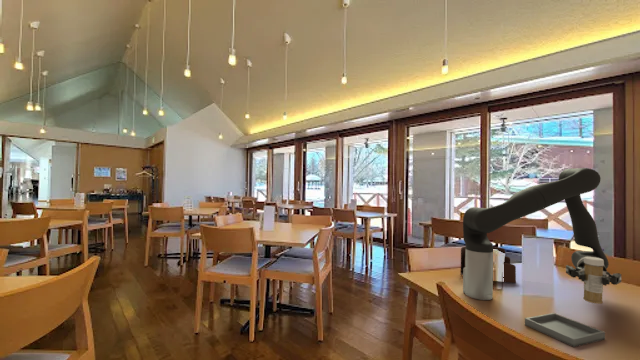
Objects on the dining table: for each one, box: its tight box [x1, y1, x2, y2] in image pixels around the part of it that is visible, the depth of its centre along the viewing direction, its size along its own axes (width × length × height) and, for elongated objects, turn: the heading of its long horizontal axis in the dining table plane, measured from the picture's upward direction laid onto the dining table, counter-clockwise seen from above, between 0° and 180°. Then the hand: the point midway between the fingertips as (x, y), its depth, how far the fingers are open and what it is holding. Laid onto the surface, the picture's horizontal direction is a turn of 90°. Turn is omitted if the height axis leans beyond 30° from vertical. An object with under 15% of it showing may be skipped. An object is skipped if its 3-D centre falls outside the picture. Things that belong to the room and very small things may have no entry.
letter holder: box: [459, 245, 517, 284], centre depth 136 cm, size 10×20×14 cm, turn 85°
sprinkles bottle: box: [583, 257, 604, 305], centre depth 93 cm, size 5×5×13 cm
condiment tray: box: [524, 312, 606, 348], centre depth 86 cm, size 13×13×2 cm
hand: (594, 280), depth 91 cm, fingers closed on sprinkles bottle, 4 cm apart
